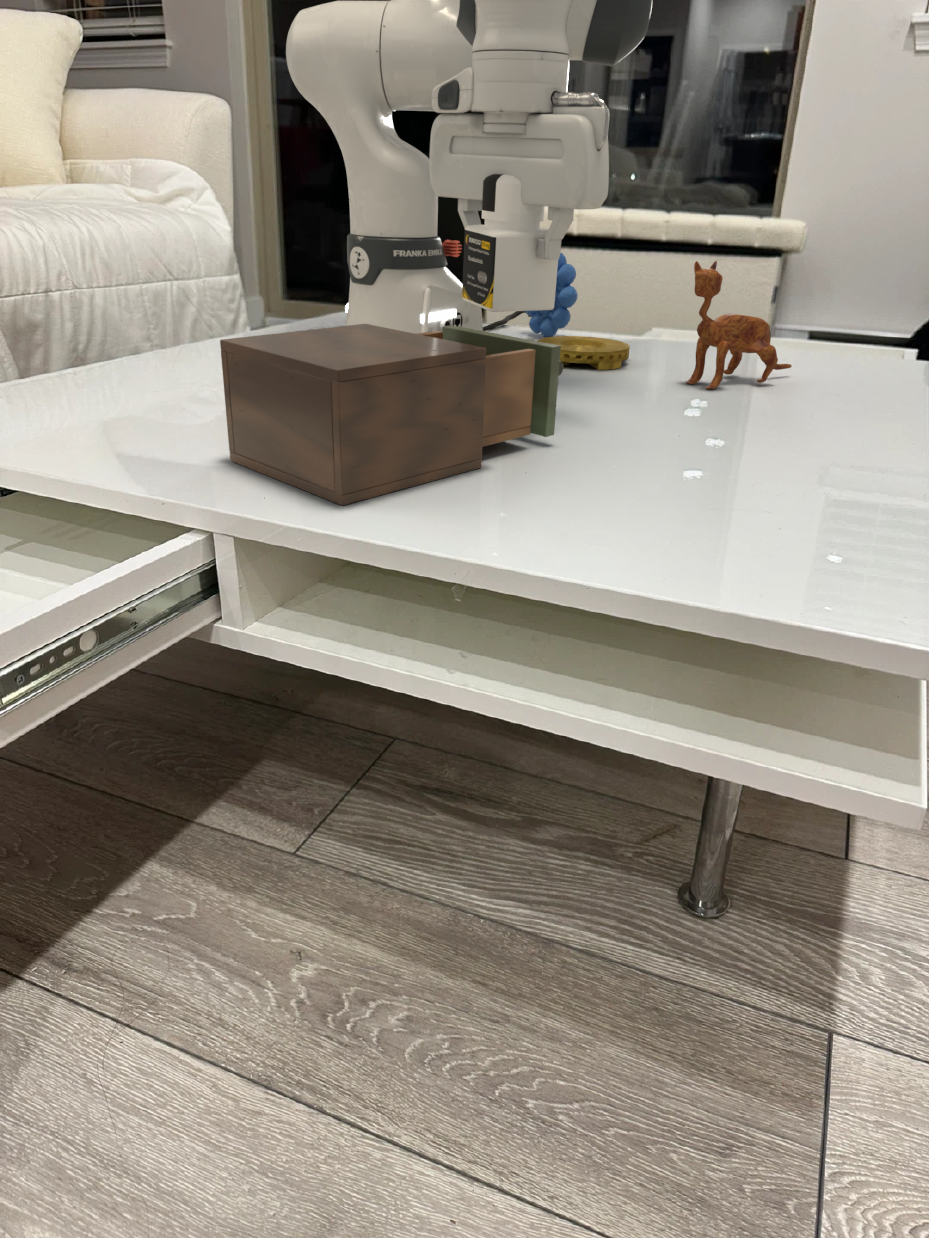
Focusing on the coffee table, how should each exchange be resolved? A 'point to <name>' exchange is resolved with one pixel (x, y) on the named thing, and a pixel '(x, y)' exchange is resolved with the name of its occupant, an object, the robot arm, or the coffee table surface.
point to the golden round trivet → (590, 351)
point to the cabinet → (354, 408)
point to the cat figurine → (729, 333)
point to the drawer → (513, 383)
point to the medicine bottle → (507, 253)
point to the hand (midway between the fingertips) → (510, 254)
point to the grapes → (556, 303)
